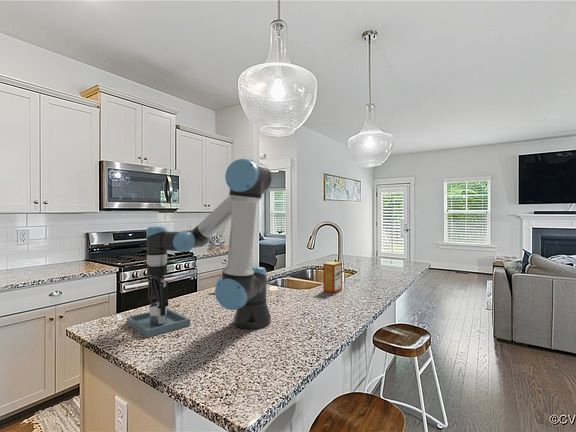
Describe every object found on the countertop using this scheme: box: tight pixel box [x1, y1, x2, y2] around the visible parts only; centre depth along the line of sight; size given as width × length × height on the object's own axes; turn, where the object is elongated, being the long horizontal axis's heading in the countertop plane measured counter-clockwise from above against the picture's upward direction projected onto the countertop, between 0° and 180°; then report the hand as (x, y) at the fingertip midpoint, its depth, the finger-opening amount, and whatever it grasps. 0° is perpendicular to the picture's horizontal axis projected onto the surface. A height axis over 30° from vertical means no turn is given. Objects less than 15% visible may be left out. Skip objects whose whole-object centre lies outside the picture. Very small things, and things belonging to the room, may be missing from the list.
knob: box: [148, 302, 167, 325], centre depth 131 cm, size 6×6×7 cm
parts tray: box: [126, 307, 191, 339], centre depth 132 cm, size 21×17×3 cm
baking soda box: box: [322, 261, 343, 294], centre depth 183 cm, size 10×6×16 cm
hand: (158, 321), depth 131 cm, fingers closed on knob, 6 cm apart
